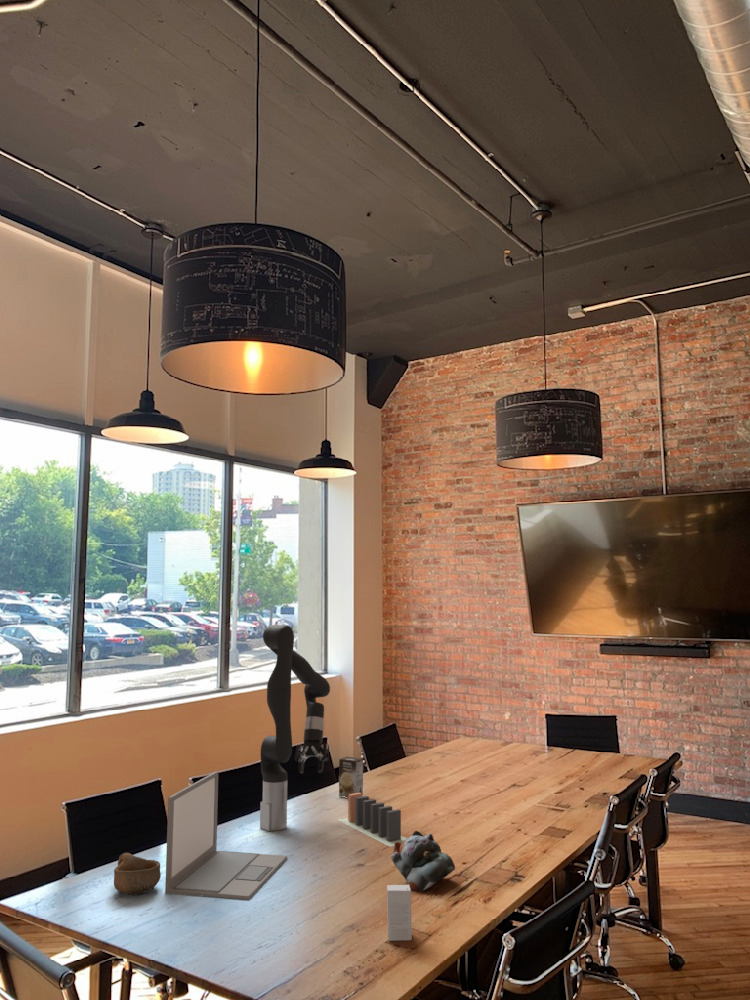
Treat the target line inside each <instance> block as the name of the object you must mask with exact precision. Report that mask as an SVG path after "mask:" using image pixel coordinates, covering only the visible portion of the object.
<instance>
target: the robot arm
mask: <svg viewBox="0 0 750 1000" xmlns="http://www.w3.org/2000/svg"><path fill="white" fill-rule="evenodd" d="M294 633H295V632H294V630H293V628H292V627H291V626H290V625H286V624H273V625H272V624H271V625H268V626H267V627H265V629H264V631H263V634H262V639H263V642H264V644H265V645H266V647H267V648H268V649H270V650H271V651H272V652H273V653H274V655H276V662H275V666H274V668H273V670H272V672H271V674H270V676H269V678H268V681H267V685H266V703H267V707H268V709H269V712H270V714H271V715H272V718H273V721H274V725H275V735H267V736H265V738H264V739H263V741H262V742H261V745H260V772H261V774H262V801H260V804H259V805H260V809H259V810H260V811H259V813H260V814H259V828H260V829H263V830H265V831H267V832H274V831H276V832H277V831H281V830H285V829H287V828H288V827H287V826H288V772H287V771H286V769H284V768H283V767H282V765H281V764H283V763H287V762H288V761H289V760H290V758H291V756H292V752H293V735H292V721H291V720H292V719H291V716H292V715H291V713H292V711H291V705H292V704H291V699H292V673H293V674H294V675H295V676H296V678H297V679H298V680H299V682H300V683H301V684H303V685H304V687H303V688H304V689H303V693H304V699H305V704H306V714H305V715H306V716H305V722H304V731H303V745H299V744H298V745H296V747H295V755H294V761H295V762H298V770H297V771H298V773H300V774H304V772H305V770H304V769H305V762H306V760H307V759H308V758H313V757H316V758H317V759H318V762H317V772H318V773H323V771H324V765H325V762H326V761H329V759H330V745H329V744H328V743H323V739H324V726H325V725H324V724H325V723H324V716H325V706H324V704H323V703H321V702H317V699H318V698H325V697H327V696H328V695H329V694H330V692H331V686H330V683H329V681H328V680H327V679H326V677H324V676H323V675H321V674H320V673H319V672H317V671H316V670H314V668H313V666H311V664H310V662H308V660H306V659H305V657H303V656H302V655H301V654H299V653H298V652H297V651H295V650H294V645H295V634H294ZM321 751H323V752H321Z"/></svg>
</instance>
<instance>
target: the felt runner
mask: <svg viewBox="0 0 750 1000" xmlns="http://www.w3.org/2000/svg"><path fill="white" fill-rule="evenodd" d="M337 821H339V822H340V823H343V824H344V825H347V826H348V827H350V828H352V829H354V830H355V831H356V830H357V831H358V832H360V833H362V834H364V835H366V836H368V837H369V838H372V839H374V840H375V841H378V842H380V843H381V844H384V845H386V846H388V847H389V848H391V847H395V845H394V844H395V843H396V842H399V843H403V842H404V841H405V840H406V839H407V838H408V837H405V836H403V835H401V840H396V841H391V842H388V841H387V837H382V838H380V837H378V833H374V834H372V833H371V829H367V830H364V829H363V825H361V826H356V825H355V822H351V823H350V822H348V817H345V818H340V819H337Z"/></svg>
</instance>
